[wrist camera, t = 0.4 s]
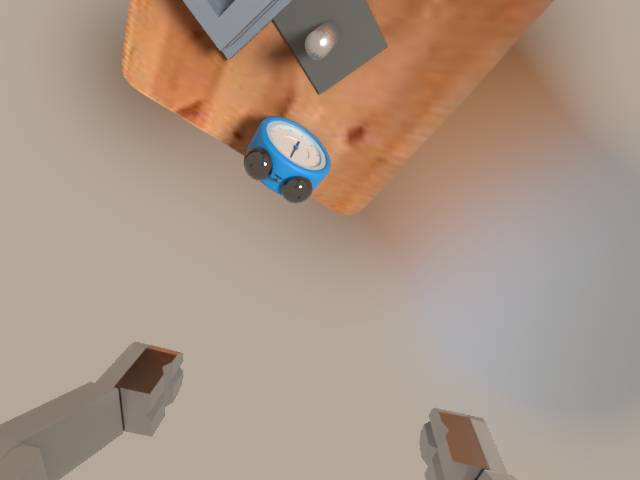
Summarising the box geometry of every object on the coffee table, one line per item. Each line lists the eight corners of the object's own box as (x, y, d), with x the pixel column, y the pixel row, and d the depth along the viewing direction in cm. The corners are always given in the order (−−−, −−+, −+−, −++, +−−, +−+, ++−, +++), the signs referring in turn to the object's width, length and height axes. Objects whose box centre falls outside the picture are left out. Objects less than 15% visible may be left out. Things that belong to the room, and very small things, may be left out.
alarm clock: (337, 150, 56) (323, 194, 45) (318, 173, 60) (301, 220, 49) (275, 104, 53) (243, 140, 42) (259, 132, 57) (227, 172, 46)
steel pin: (332, 15, 43) (320, 24, 36) (344, 36, 45) (334, 49, 37) (315, 29, 45) (300, 41, 37) (327, 49, 46) (314, 65, 39)
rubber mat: (343, -46, 39) (343, -47, 39) (387, 46, 45) (387, 46, 45) (273, 19, 45) (272, 19, 45) (320, 93, 51) (319, 94, 50)
